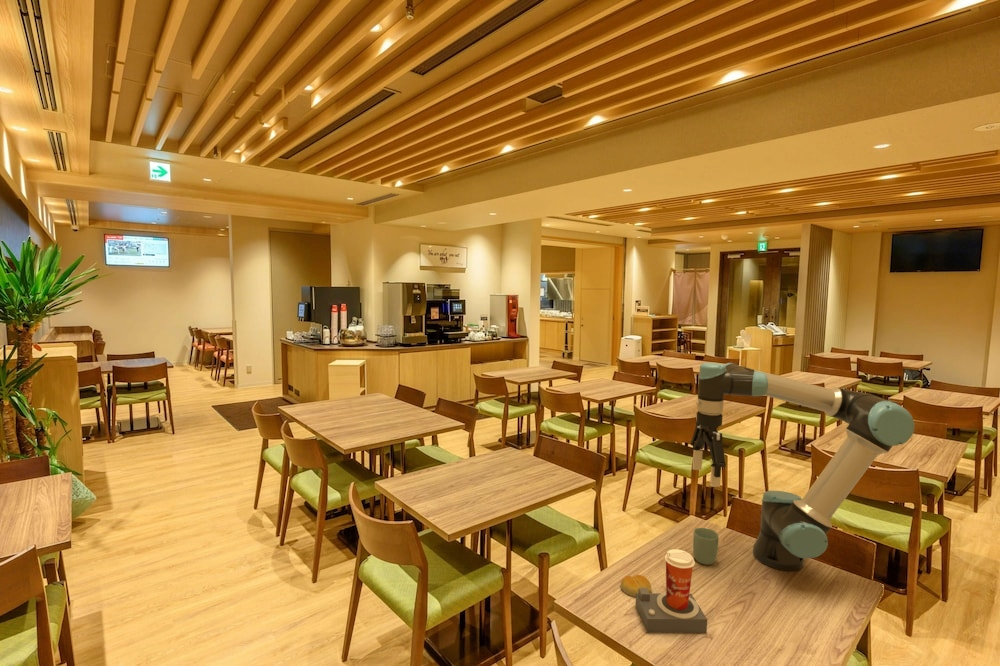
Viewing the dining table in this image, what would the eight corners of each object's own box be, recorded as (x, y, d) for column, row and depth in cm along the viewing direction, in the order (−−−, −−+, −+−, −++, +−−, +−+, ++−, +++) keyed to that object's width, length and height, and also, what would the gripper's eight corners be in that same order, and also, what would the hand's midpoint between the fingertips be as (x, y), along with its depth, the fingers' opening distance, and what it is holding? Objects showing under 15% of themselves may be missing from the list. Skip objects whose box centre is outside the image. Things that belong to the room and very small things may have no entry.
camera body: (690, 606, 144) (691, 587, 143) (706, 633, 133) (707, 612, 132) (635, 606, 144) (636, 586, 143) (647, 632, 133) (648, 611, 132)
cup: (712, 555, 171) (714, 528, 170) (720, 568, 163) (722, 539, 162) (689, 554, 172) (690, 526, 171) (695, 567, 164) (697, 538, 163)
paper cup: (664, 610, 135) (667, 561, 133) (660, 593, 142) (663, 547, 141) (695, 614, 134) (698, 565, 132) (689, 596, 141) (691, 549, 140)
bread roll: (616, 583, 155) (617, 571, 154) (643, 581, 156) (644, 569, 156) (627, 600, 147) (628, 587, 146) (656, 597, 148) (656, 585, 148)
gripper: (682, 402, 168) (679, 463, 171) (715, 423, 144) (710, 494, 146) (704, 402, 168) (701, 463, 171) (741, 423, 144) (736, 494, 146)
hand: (705, 477), depth 158 cm, fingers open, 13 cm apart
